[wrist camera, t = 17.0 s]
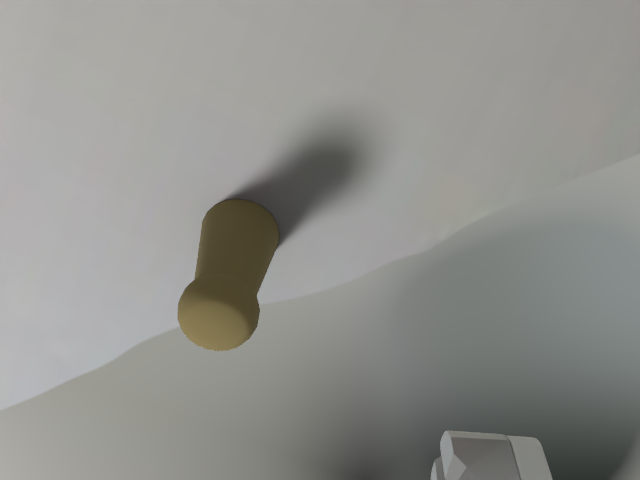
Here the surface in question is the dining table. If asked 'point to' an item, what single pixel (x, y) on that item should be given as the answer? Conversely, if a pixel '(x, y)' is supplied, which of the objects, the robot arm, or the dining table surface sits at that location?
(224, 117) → the dining table surface
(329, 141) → the dining table surface
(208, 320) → the cork
